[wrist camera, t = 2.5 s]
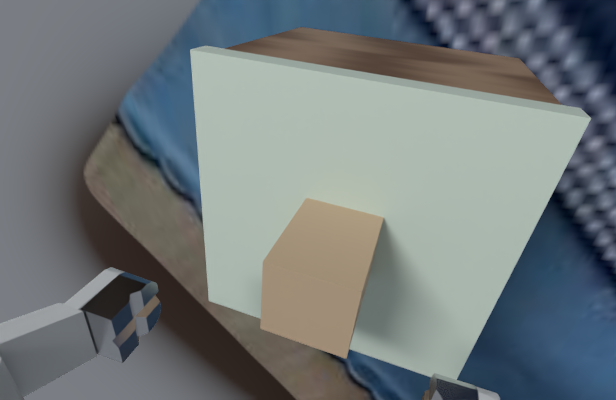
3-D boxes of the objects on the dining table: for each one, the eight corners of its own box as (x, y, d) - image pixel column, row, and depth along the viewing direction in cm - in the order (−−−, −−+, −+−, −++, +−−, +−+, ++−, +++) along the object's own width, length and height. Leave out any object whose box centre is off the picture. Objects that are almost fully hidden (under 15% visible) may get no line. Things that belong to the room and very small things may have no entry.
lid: (580, 108, 11) (659, 183, 7) (453, 366, 17) (454, 484, 13) (206, 45, 14) (99, 72, 9) (218, 287, 20) (159, 365, 16)
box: (519, 58, 19) (569, 113, 11) (450, 240, 25) (450, 362, 17) (301, 27, 22) (211, 52, 14) (288, 198, 28) (221, 286, 20)
